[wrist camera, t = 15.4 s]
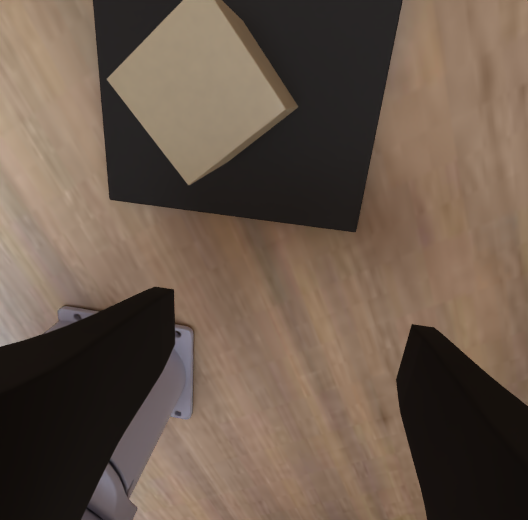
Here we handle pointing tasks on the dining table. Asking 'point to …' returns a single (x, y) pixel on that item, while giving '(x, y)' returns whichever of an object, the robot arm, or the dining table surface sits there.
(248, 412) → the dining table surface
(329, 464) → the dining table surface
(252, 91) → the block
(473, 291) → the dining table surface
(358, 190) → the mat
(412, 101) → the dining table surface
